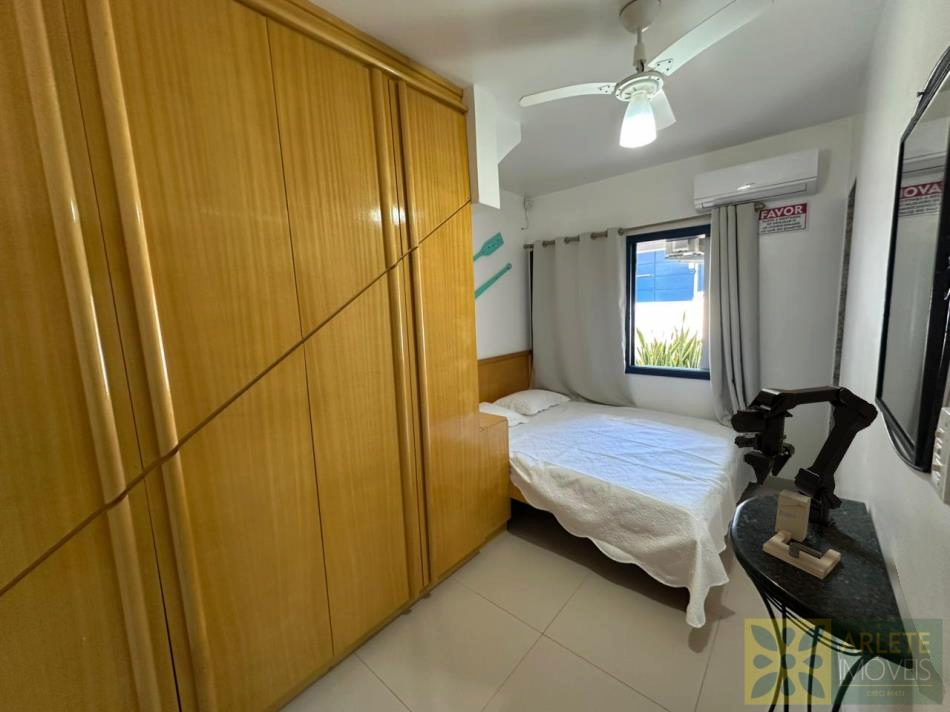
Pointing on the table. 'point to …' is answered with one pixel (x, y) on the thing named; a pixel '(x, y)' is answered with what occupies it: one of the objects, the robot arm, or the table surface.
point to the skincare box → (793, 514)
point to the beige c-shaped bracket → (801, 555)
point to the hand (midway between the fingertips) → (767, 480)
